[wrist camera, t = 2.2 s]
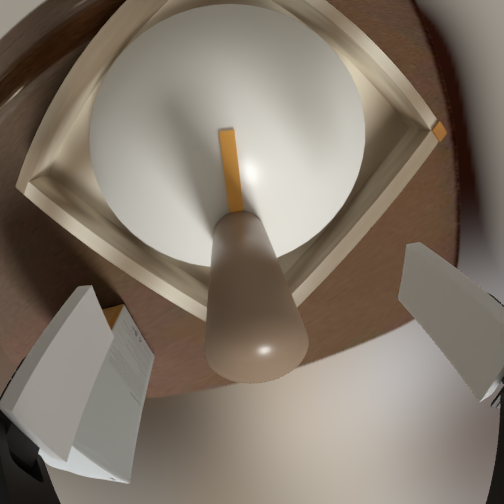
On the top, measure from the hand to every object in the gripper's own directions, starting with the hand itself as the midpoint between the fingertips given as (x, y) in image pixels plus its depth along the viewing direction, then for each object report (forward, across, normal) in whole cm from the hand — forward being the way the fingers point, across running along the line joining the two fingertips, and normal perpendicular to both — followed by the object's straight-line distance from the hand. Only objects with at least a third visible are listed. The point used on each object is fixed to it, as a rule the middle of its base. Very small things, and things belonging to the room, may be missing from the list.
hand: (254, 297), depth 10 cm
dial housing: (+9, 0, +6) cm, 11 cm away
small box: (+9, -14, -9) cm, 19 cm away
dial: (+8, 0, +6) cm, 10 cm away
